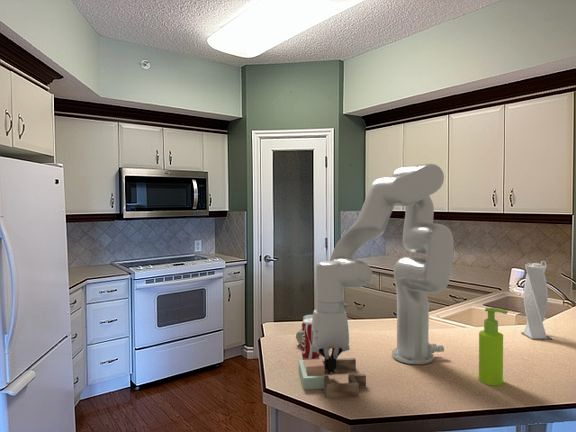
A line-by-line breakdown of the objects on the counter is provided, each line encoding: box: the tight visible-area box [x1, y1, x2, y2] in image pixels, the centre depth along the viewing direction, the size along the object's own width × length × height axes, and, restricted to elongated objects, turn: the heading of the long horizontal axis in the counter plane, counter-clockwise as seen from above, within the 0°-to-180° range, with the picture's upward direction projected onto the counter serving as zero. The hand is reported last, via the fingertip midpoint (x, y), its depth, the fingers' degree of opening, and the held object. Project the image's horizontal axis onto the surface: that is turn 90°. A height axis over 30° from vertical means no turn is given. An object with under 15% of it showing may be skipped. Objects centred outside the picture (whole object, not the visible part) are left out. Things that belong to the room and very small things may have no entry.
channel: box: [321, 357, 367, 399], centre depth 113 cm, size 11×18×3 cm, turn 5°
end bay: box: [298, 359, 325, 390], centre depth 115 cm, size 6×12×3 cm, turn 5°
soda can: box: [301, 318, 320, 360], centre depth 130 cm, size 5×5×12 cm
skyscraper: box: [520, 260, 553, 341], centre depth 147 cm, size 8×8×28 cm
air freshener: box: [295, 314, 313, 346], centre depth 141 cm, size 11×8×10 cm
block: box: [303, 358, 326, 376], centre depth 115 cm, size 5×5×4 cm
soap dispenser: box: [478, 307, 509, 387], centre depth 112 cm, size 6×7×20 cm
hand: (330, 371), depth 115 cm, fingers closed
